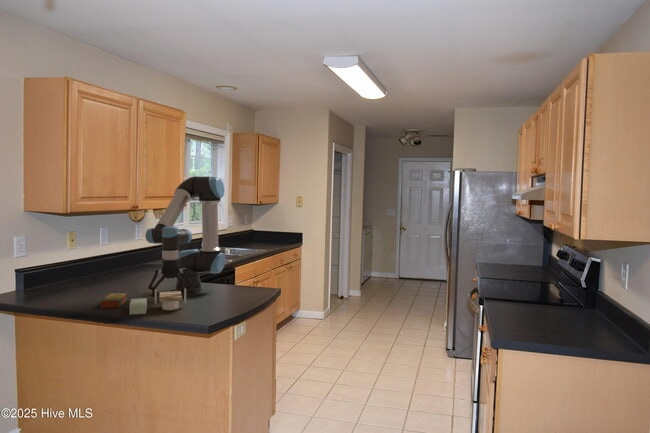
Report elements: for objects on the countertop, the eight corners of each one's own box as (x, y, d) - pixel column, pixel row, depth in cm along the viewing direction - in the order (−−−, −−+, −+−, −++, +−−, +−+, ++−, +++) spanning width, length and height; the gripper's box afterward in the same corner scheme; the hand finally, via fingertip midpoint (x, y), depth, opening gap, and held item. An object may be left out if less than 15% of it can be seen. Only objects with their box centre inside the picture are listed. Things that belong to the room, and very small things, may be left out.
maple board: (159, 295, 244) (159, 291, 244) (180, 294, 247) (180, 290, 247) (159, 302, 229) (159, 298, 229) (182, 300, 233) (181, 297, 233)
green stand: (131, 307, 240) (131, 298, 240) (146, 306, 242) (146, 298, 242) (129, 314, 226) (129, 305, 225) (145, 313, 228) (145, 305, 228)
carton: (126, 301, 254) (126, 292, 254) (118, 308, 238) (118, 299, 238) (109, 301, 253) (109, 293, 253) (100, 308, 237) (100, 300, 237)
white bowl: (162, 307, 241) (162, 296, 241) (178, 306, 243) (178, 296, 243) (162, 310, 234) (162, 300, 233) (179, 309, 236) (179, 299, 236)
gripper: (142, 260, 230) (142, 305, 231) (197, 259, 238) (197, 302, 239) (143, 258, 237) (143, 302, 238) (196, 257, 245) (196, 299, 246)
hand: (170, 302), depth 238 cm, fingers open, 13 cm apart
